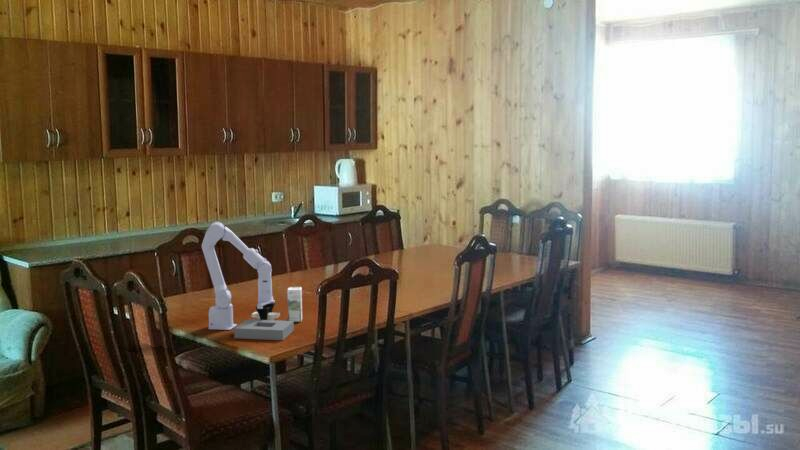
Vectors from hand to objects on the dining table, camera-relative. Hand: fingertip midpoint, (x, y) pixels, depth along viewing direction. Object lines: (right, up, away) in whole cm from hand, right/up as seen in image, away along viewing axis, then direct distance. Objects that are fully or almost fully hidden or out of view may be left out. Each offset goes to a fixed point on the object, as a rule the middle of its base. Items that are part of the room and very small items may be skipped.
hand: (265, 321), depth 306 cm
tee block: (0, -2, 0) cm, 2 cm away
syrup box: (+11, -1, +7) cm, 14 cm away
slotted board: (+2, -3, -13) cm, 14 cm away
